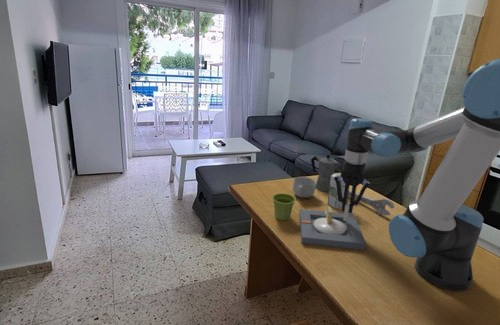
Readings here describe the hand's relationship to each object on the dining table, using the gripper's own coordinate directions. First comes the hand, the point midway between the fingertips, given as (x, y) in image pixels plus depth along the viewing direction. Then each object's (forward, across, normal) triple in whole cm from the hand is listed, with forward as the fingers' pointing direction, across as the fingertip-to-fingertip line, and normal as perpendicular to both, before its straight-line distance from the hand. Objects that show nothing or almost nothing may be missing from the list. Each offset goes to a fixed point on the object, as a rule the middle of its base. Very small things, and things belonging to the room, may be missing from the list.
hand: (345, 219), depth 117 cm
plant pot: (+4, +24, +4) cm, 25 cm away
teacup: (+4, +24, -20) cm, 31 cm away
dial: (+3, +5, +5) cm, 7 cm away
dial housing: (+4, +5, +5) cm, 8 cm away
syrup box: (+4, +7, -19) cm, 21 cm away
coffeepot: (+4, +18, -37) cm, 42 cm away
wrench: (+5, -4, -26) cm, 27 cm away
